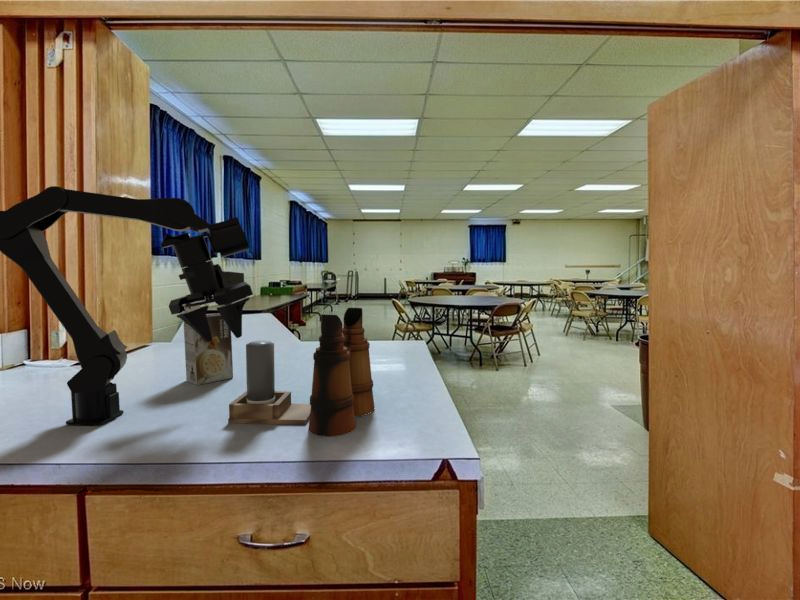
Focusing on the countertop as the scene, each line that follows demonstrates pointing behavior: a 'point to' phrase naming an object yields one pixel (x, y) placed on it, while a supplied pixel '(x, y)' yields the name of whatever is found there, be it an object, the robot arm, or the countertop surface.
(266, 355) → the grey round-topped cylinder
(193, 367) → the coffee box
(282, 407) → the brown square-cornered frame
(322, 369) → the binoculars
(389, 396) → the countertop surface
